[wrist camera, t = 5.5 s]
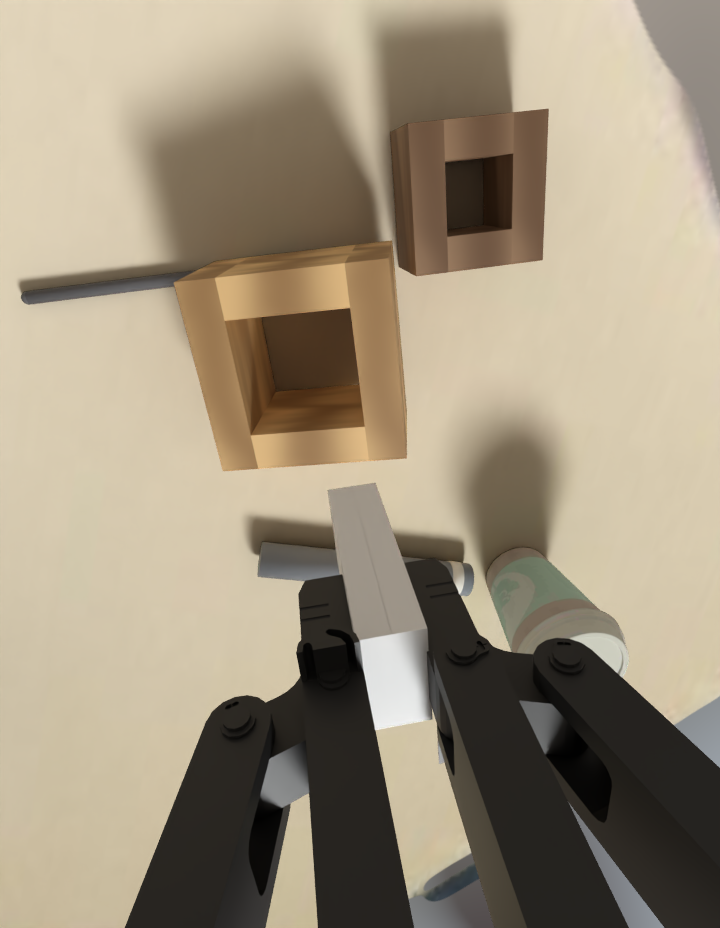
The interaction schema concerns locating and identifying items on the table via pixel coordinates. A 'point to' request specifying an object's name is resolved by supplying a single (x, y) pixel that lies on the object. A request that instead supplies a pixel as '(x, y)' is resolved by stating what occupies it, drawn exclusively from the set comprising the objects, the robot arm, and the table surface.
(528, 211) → the bead dark
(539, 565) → the coffee cup
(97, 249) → the table surface
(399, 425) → the light wooden square box
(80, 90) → the table surface
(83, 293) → the grey long thin rod
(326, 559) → the gray tube
